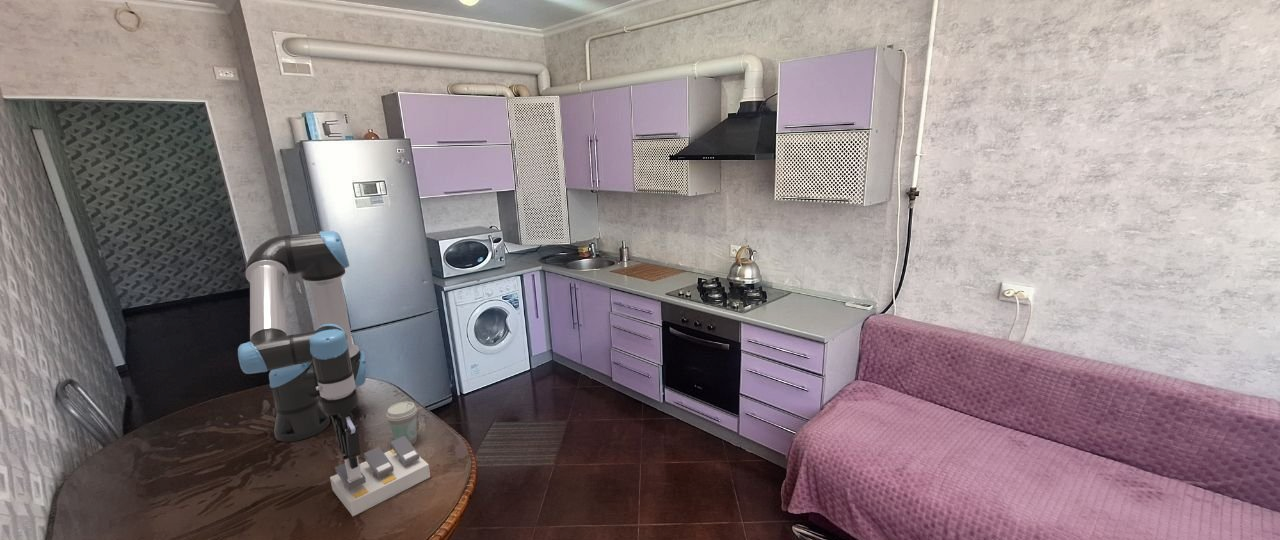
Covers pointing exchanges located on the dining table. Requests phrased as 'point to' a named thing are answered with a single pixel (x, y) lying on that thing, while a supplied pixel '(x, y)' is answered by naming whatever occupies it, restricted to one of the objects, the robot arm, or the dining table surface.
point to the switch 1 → (349, 483)
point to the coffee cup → (403, 420)
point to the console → (380, 483)
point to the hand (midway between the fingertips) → (354, 476)
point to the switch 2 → (378, 462)
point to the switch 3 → (404, 450)
